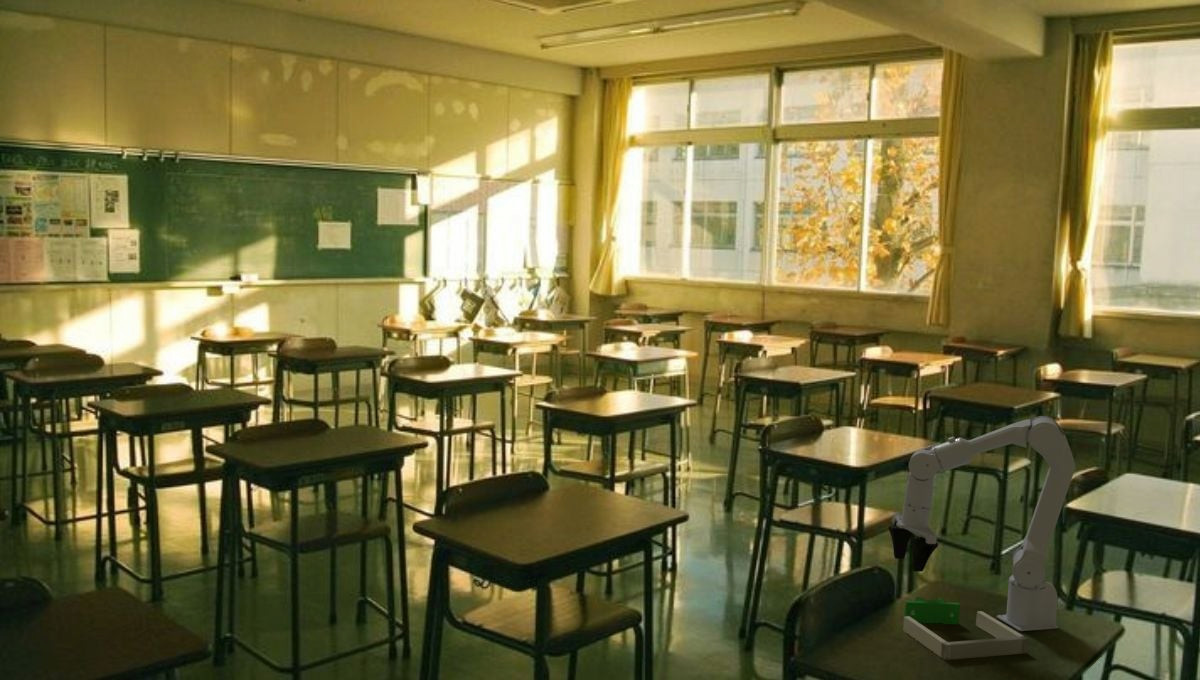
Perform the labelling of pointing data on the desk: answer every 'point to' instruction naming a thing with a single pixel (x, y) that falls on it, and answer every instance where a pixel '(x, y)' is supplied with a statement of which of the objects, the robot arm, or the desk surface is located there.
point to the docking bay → (1000, 645)
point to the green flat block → (932, 611)
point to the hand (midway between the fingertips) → (908, 564)
